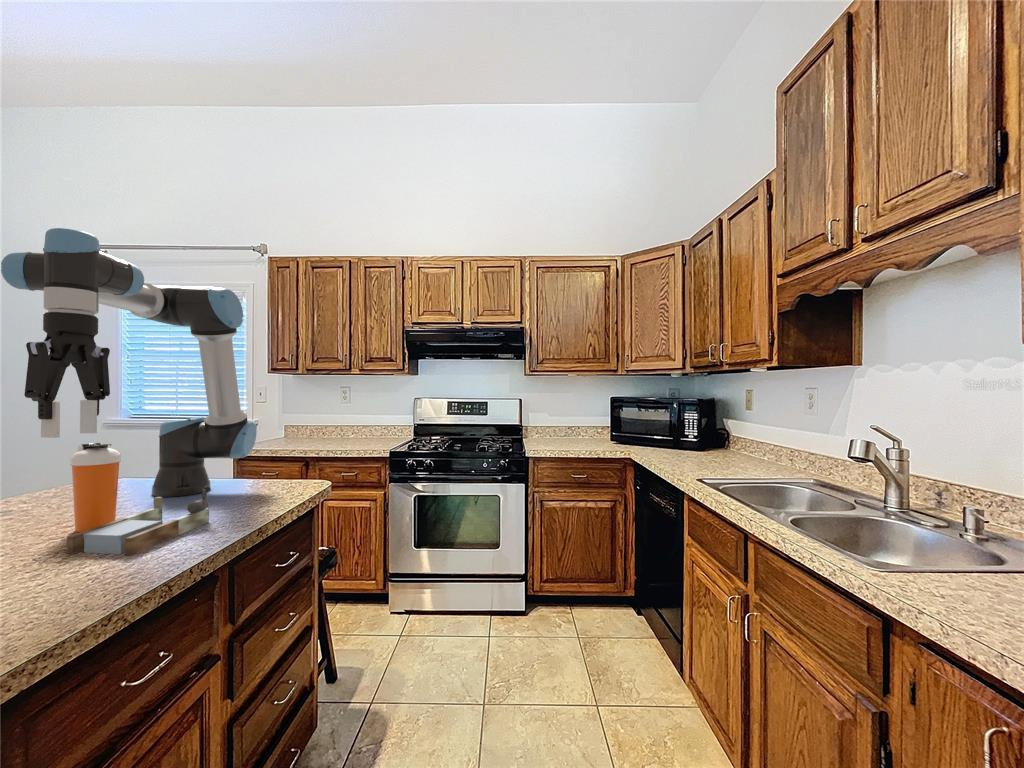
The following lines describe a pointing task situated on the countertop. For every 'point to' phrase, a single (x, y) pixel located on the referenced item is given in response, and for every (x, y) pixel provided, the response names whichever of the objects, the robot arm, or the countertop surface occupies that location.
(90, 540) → the pale blue flat block
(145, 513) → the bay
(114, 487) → the shaker bottle
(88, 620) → the countertop surface
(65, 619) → the countertop surface
